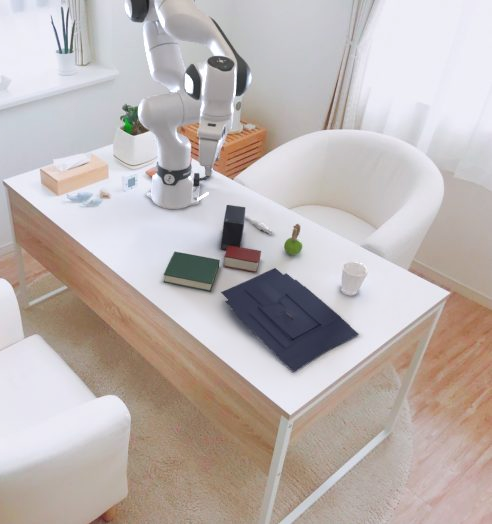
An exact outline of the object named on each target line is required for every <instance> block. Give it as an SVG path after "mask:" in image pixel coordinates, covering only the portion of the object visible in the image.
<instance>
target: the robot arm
mask: <svg viewBox="0 0 492 524" xmlns="http://www.w3.org/2000/svg"><path fill="white" fill-rule="evenodd" d="M124 9H125V12H126V15H127V17H128V19H129V20H130V21H131V22H134V23H140V24H141V23H143V26H142V27H143V28H142V31H143V32H142V33H143V34H142V35H143V45H144V51H145V55H146V60H147V64H148V68H149V73H150V76H151V78H152V79H153V81H154V82H156V83H158V84H161V85H163V86H164V87H166V88H167V89H168V90H169V92H161V93H155V94H152V95H149V96H147V97H144V98H142V99H141V101H140V102H139V104H138V107H137V116H138V119H139V122H140V124H141V125H142V126H143V127H144V129H147V130H148V131H150V132H151V133H152V134H153V136H154V138H155V140H156V143H157V161H156V167H155V168H156V169H155V172H156V173H154V175H152V178H151V188H150V190H149V191H148V192H147V193H146V196H147V198H149V199H151V201H152V202H153V203H154V204H155V205H156V206H158V207H160V208H163V209H167V210H181V209H186V208H187V207H189V206H195V205H198V204H199V202H200V200H201V199H203V198H205V197H206V196H208V195H209V192H208V191H207V192H205V193H204V194H203V195H201V196H200V187H201V185H200V182H202V181H206V180H207V179H209V178H210V177H212V175H213V167H214V165H215V162H218V161H219V160H220V154H221V151H222V148H223V146H224V144H225V142H226V140H227V137H228V136H227V135H228V132H230V131H231V130H232V129H233V121H234V113H235V111H234V110H235V109H234V100H235V98H236V97H241V96H242V95H243V94H244V93H245V92H246V91H247V90H248V88H249V87H250V86H251V83H252V71H251V68H250V66H249V64H248V63H247V61H246V60H245V59H244V58H243V57H242V56H241V55H240V54H239V53H238V52H237V50H236V49H235V47H234V46H233V44H232V43H231V42H230V40H229V38H228V37H227V35H226V34H225V32H224V31H223V30H222V28H221V26H220V25H219V24H218V22H217V21H216V20H215V19H213V17H211V16H209V15H207V14H206V13H205V12H203V11H202V10H201V9H200V7H199V6H198V5H197V4H196V0H124ZM179 41H182V42H190V43H195V44H199V45H202V46H204V47H206V48H208V49H209V50H210V52H211V53H212V55H213V56H210V57H208V58H207V59H206V60H205V61H197V62H194V63H190V64H189V65H188V66H187V68H186V65H185V62H184V59H183V54H182V50H181V47H180V42H179ZM194 124H195V125H196V124H198V128H197V132H196V137H197V138H199V140H198V163H199V166H201V167H204V177H200V173H199V172H194V171H193V169H192V168H193V166H192V160H193V157H192V156H191V155H192V143H191V141H190V139H189V138H188V136H186V135H185V134H182V133H180V132H177V131H178V128H179V127H181V126H188V125H194Z"/></svg>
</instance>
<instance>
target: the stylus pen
mask: <svg viewBox="0 0 492 524" xmlns="http://www.w3.org/2000/svg"><path fill="white" fill-rule="evenodd" d="M245 220H247V221H248V222H249V223H250V224H251V225H253V226H255V227H256V229H258V230H259V231H262V232H264V233H267V234H268V235H269V236H272V234H273V233H274V230H272V229H271V228H270V227H269V226H267V224H266V223H264V222H262V221H259V220H257V219H254V218H253V217H250V216H248V215H246V214H245Z"/></svg>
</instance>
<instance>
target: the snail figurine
mask: <svg viewBox="0 0 492 524" xmlns="http://www.w3.org/2000/svg"><path fill="white" fill-rule="evenodd" d="M300 232H301V224H300V223H296V224H295V225H293V229H292V233H291V237H289V238H287V239H286V240H285V242H284V245H283V247H284V251H285V252H286V253H287V254H288V255H291V256H296V255H298V254H299V253H301V252H302V250H303V243H302V241H301V239H300V238H298V237H299V235H300Z"/></svg>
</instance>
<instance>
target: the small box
mask: <svg viewBox="0 0 492 524" xmlns="http://www.w3.org/2000/svg"><path fill="white" fill-rule="evenodd" d="M245 215H246V206H240V205H233V204H226V207H225V212H224V217H223V222H222V223H223V224H222V231H221V240H220V247H219V248H220V250H225V251H226V250H227V247H228V245H230V246H236V247H242V241H243V235H244V228H245V221H246V219H245Z"/></svg>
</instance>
